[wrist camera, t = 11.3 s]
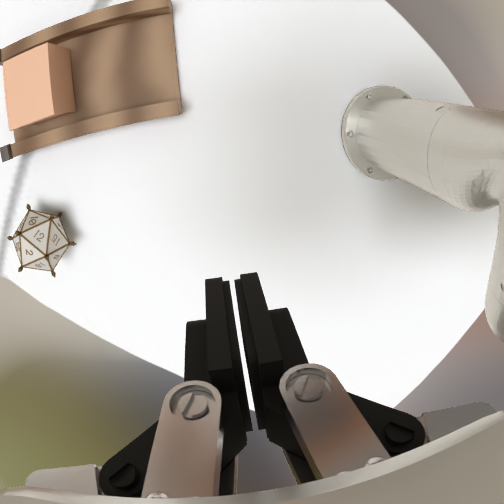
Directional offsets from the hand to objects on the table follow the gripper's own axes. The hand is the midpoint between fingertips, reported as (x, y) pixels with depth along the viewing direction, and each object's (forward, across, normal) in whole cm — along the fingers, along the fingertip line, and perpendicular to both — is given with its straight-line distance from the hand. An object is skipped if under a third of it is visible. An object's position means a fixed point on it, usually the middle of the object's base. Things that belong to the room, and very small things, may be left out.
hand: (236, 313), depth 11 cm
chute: (+29, +14, -13) cm, 35 cm away
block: (+28, +18, -13) cm, 36 cm away
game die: (+29, +23, +5) cm, 38 cm away
